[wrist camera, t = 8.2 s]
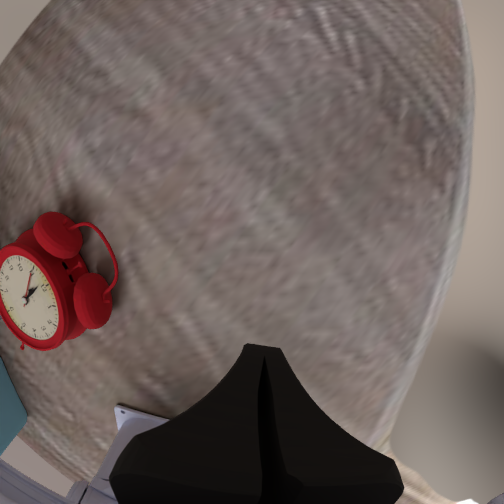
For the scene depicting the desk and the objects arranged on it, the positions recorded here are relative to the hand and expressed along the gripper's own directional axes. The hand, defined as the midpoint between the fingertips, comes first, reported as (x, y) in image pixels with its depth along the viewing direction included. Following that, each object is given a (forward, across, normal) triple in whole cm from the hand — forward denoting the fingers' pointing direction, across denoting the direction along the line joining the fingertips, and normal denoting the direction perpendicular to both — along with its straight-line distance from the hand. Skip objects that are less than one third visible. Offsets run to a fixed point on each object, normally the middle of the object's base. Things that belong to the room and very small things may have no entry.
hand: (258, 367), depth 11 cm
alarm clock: (+11, +17, +4) cm, 20 cm away
